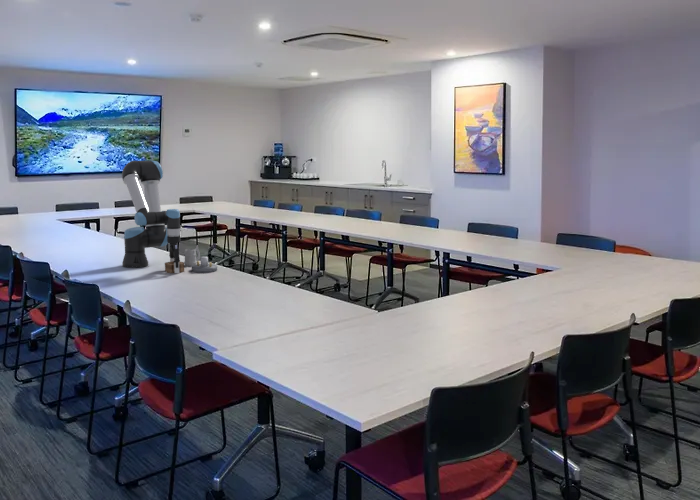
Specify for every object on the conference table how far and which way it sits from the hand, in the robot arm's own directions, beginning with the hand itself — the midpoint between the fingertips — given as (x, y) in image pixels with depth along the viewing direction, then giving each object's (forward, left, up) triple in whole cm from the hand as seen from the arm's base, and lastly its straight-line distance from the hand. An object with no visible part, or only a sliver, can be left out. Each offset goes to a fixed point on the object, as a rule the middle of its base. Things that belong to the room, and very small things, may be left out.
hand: (174, 271), depth 371 cm
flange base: (+14, +10, 0) cm, 17 cm away
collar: (0, 0, 0) cm, 0 cm away
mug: (-2, +22, 0) cm, 22 cm away
